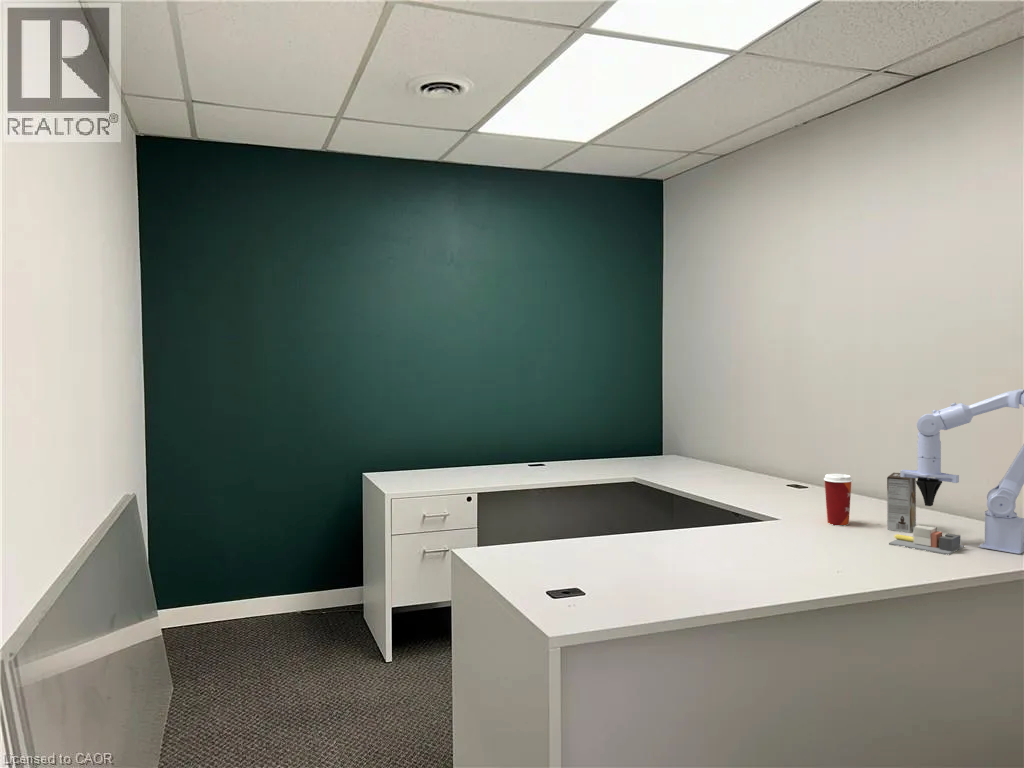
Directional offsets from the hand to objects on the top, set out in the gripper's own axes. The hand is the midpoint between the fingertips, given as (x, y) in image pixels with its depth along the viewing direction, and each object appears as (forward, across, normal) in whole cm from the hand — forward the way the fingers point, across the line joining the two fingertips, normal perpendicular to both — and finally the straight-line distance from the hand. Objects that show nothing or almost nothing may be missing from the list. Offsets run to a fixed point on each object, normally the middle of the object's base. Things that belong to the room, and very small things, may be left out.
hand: (929, 505), depth 207 cm
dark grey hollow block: (+10, +8, -6) cm, 14 cm away
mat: (+10, +2, -6) cm, 12 cm away
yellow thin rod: (+10, 0, -6) cm, 12 cm away
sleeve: (+10, +1, -6) cm, 12 cm away
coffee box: (+10, -11, +9) cm, 17 cm away
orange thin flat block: (+10, +4, -6) cm, 12 cm away
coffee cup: (+10, -27, +2) cm, 29 cm away
